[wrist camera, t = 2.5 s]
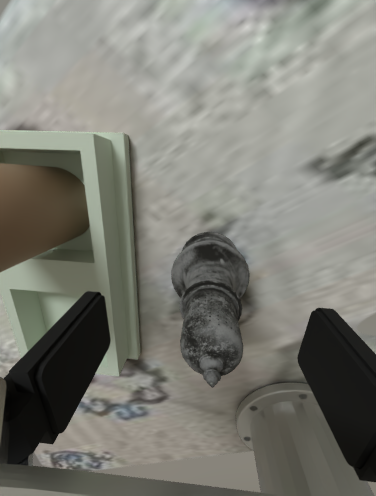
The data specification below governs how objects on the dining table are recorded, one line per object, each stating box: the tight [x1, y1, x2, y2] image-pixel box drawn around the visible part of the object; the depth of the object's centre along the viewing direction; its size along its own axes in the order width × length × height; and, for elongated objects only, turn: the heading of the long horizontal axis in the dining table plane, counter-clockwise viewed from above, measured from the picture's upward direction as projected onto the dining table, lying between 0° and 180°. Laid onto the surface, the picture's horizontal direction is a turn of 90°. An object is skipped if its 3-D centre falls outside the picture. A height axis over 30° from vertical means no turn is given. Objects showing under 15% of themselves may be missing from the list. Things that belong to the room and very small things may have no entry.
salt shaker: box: [172, 232, 249, 387], centre depth 13 cm, size 6×6×12 cm
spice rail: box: [0, 130, 140, 376], centre depth 14 cm, size 22×12×13 cm, turn 178°
